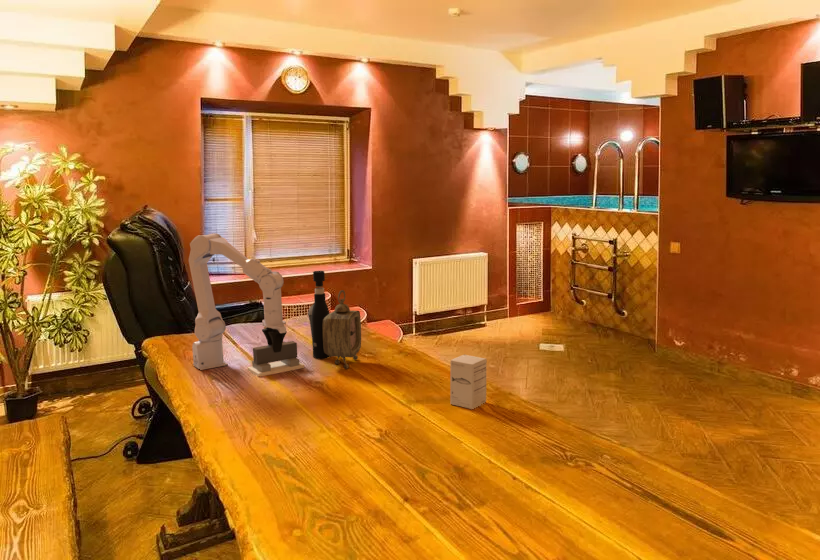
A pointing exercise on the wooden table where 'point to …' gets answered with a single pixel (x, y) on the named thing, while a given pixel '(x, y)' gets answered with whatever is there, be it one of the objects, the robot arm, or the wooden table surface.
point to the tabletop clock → (342, 332)
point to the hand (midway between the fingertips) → (275, 350)
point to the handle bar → (268, 355)
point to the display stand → (275, 367)
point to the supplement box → (468, 381)
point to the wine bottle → (318, 316)
